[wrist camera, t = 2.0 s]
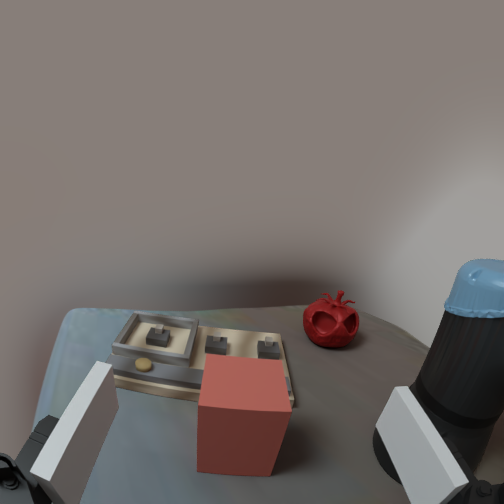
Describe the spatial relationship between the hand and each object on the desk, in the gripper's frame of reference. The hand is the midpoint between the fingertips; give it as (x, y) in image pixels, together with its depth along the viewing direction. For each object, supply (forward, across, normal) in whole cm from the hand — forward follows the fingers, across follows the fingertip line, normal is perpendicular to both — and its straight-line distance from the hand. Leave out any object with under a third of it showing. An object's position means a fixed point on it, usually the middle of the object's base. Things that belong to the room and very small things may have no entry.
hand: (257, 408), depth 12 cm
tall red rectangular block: (+10, +1, -17) cm, 19 cm away
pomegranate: (+35, +17, -16) cm, 42 cm away
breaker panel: (+25, -4, -16) cm, 30 cm away
